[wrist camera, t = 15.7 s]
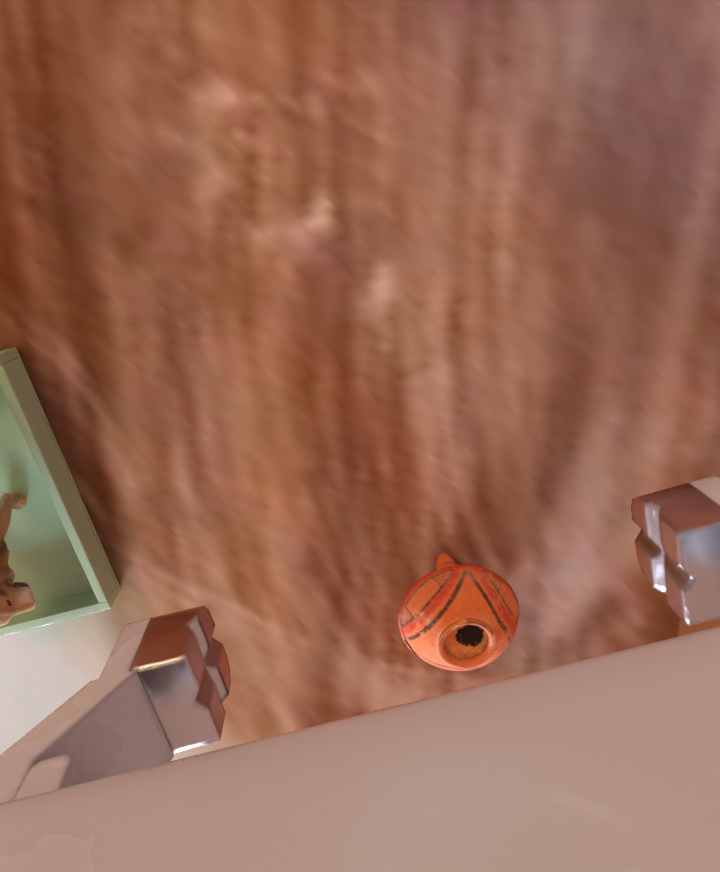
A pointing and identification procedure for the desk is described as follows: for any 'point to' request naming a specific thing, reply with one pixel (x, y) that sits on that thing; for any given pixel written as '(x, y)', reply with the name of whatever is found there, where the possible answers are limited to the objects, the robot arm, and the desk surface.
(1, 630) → the tray
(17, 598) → the lion figurine
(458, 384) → the desk surface
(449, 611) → the pot
